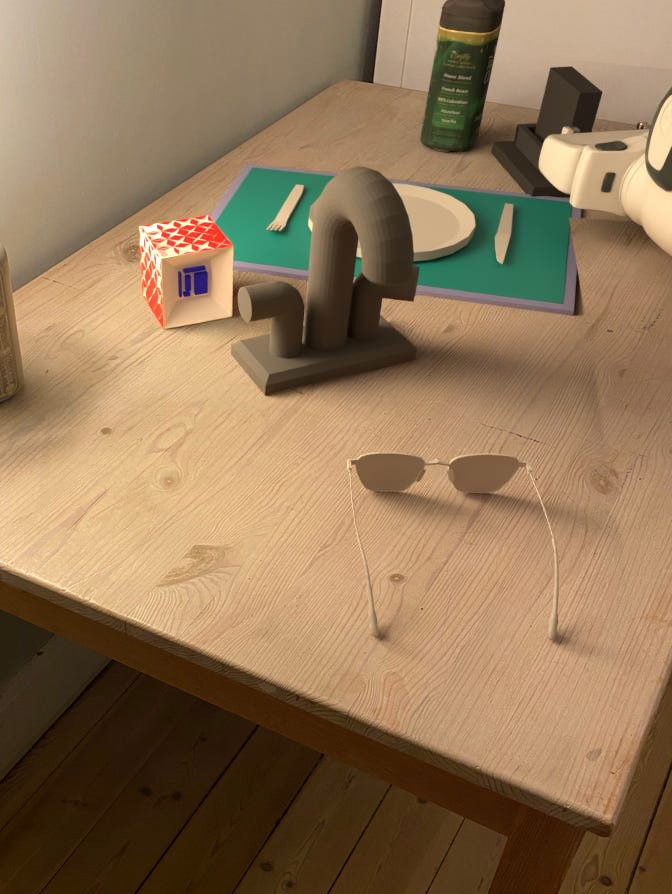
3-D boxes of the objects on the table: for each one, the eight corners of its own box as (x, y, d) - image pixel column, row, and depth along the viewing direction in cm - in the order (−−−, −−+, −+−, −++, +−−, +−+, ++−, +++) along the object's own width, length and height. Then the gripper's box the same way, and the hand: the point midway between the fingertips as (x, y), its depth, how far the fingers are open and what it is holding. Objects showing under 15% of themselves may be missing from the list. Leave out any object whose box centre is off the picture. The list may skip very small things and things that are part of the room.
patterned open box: (208, 284, 108) (208, 215, 103) (232, 316, 103) (233, 245, 98) (141, 296, 107) (138, 226, 101) (162, 329, 102) (159, 258, 96)
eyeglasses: (519, 491, 82) (530, 453, 79) (567, 643, 70) (583, 605, 67) (342, 488, 83) (347, 451, 80) (359, 639, 71) (365, 601, 68)
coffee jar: (468, 157, 133) (498, 3, 119) (413, 149, 135) (437, -4, 121) (483, 134, 139) (514, -16, 125) (431, 126, 141) (455, -22, 127)
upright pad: (579, 175, 125) (603, 91, 117) (557, 176, 124) (579, 93, 117) (551, 146, 131) (572, 66, 124) (530, 148, 131) (550, 67, 124)
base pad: (619, 194, 124) (629, 162, 121) (530, 199, 123) (538, 167, 120) (572, 148, 135) (580, 117, 132) (490, 152, 134) (497, 122, 131)
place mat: (180, 265, 112) (179, 246, 111) (246, 169, 132) (246, 151, 130) (571, 317, 103) (577, 298, 101) (580, 205, 123) (585, 187, 121)
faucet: (292, 437, 88) (310, 223, 73) (225, 355, 98) (229, 151, 83) (458, 395, 92) (506, 184, 78) (378, 320, 102) (407, 121, 88)
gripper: (753, 140, 105) (695, 98, 114) (575, 151, 103) (531, 107, 113) (730, 198, 109) (676, 153, 119) (559, 209, 108) (518, 162, 117)
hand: (604, 130), depth 116 cm, fingers open, 8 cm apart
